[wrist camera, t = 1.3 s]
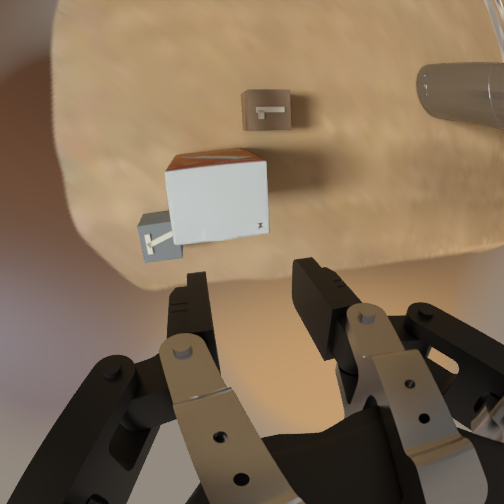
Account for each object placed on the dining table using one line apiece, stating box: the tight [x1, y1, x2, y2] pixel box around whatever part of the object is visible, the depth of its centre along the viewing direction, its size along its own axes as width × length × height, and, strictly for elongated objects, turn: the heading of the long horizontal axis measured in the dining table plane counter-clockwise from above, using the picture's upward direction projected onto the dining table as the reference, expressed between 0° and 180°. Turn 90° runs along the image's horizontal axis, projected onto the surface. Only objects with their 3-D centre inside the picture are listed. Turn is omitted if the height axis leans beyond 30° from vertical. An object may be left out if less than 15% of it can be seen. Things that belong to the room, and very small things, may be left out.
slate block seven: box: [137, 211, 183, 263], centre depth 34 cm, size 4×4×5 cm
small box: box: [165, 148, 270, 245], centre depth 28 cm, size 8×6×13 cm
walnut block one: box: [241, 90, 291, 131], centre depth 30 cm, size 4×4×5 cm
